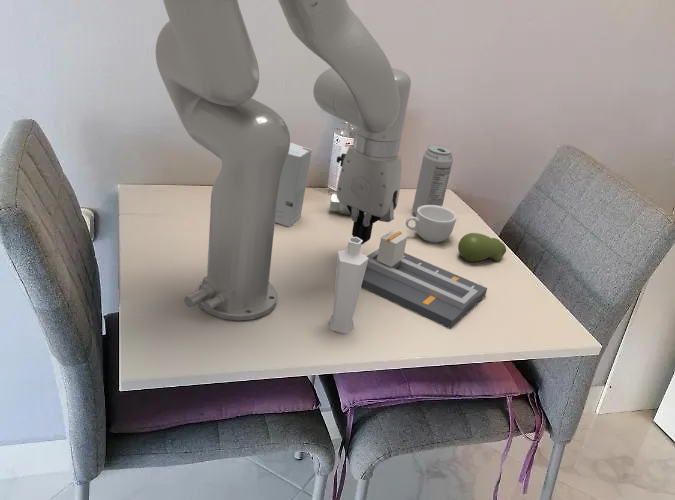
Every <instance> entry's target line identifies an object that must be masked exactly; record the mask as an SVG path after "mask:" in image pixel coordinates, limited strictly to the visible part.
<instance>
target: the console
mask: <svg viewBox="0 0 675 500" xmlns="http://www.w3.org/2000/svg"><path fill="white" fill-rule="evenodd" d="M378 251H379V248H377V249H376V250H374V251H373V252H371V253H369V254H368V255H366V256H367V257H368V258H369V259H368V263H367V266H366V270H365V274H364V278H363V282H362V285H361V288H363V289H365V290H368V291H369V292H371V293H374V294H376V295H378V296H380V297H382V298H384V299H387V300H389V301H391V302H393V303H394V304H397V305H400V306H401V307H404V308H405V309H407V310H409V311H413V312H414V313H416V314H418V315H421V316H423V317H425V318H427V319H430V321H431V320H432V321H433V322H435V323H438V324H440V325H442V326H444V327H447V328H448V329H452V328H453V327H454V326H455V325H456V324H457V323H458V322H459V321H460V320H461V319H462V318H463V317H464V316H465V315H467V313H469V311H471V310H472V309H473V308H474V307H475V306H476V305H477V304H478V303H479V302H480V301H481V300H482V299H484V298H485V297H486V296H487V295H486V294H487V292H488V287H485V286H483V285H481V284H478V283H476V282H474V281H471V280H470V279H467V278H465V277H463V276H459V275H457V274H455V273H453V272H451V271H449V270H446V269H443V268H442V267H439V266H436V265H434V264H432V263H430V262H427V261H425V260H422V259H420V258H418V257H415V256H413V255H411V254H409V253H406V252H404V256H403V259H402V260H401V261H400V263H399V267H397V268H396V269H394V268H392V267H390V266H388V265H385V264H383V263H381V262H379V261H377V256H378Z"/></svg>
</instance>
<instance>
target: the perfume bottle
mask: <svg viewBox="0 0 675 500" xmlns="http://www.w3.org/2000/svg"><path fill="white" fill-rule="evenodd" d="M347 240H348V244H347V248H346V249H342V250H338V251H337V260H336V273H335V282H334V283H335V285H334V286H335V287H334V295H333V308H332V315H331V317H330V319H329V328H330V331H333V332H335V333H336V332H337V333H342V334H345V335H346V334H348V333H349V332H350V331H352V330H353V329H354V326H355V325H354V315H355V312H356V308H357V304H358V300H359V296H360V292H361V289H362V287H361V285H362V282H363V278H364V274H365V270H366V266H367V263H368V259H369V258H368V257H367V256H368V255H365V254H364V253H362V252H361V248H362V245H361V243H362V242H363V240H361V239H360V238H358V237H353V236H349V237H348V238H347Z"/></svg>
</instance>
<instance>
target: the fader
mask: <svg viewBox="0 0 675 500" xmlns="http://www.w3.org/2000/svg"><path fill="white" fill-rule="evenodd" d="M402 233H403V232H402V231H401V230H400V231H395V230H391V231H389V232H388V233H386V234H384V235H383V236H381V237H380V242H379V247H378V249H379V251H378V256H377V261H379V262H381V263H383V264H385V265H388V266H390V267H392V268H394V269H396V268H397V267H399V263H400V261H401V260H402V259H403V256H404V253H405V250H406V245H407V241H408V240H407V239H408V236H407V235H404V234H402Z"/></svg>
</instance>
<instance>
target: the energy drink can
mask: <svg viewBox="0 0 675 500" xmlns="http://www.w3.org/2000/svg"><path fill="white" fill-rule="evenodd" d="M452 152H453V151H452V149H451V148H449V147H448V146H445V145H441V144H430V145H428V147H427V149H426V151H424V153H423V156H422V159H421V160H422V161H421V166H420V171H419V174H418V180H417V185H416V190H415V195H414V200H413V204H412V212H413V215H414V217H416V214H417V209H418V208H419V207H420V206H423V205H437V206H442V207H444V205H443V204H444V200H445V196H446V192H447V188H448V183H449V178H450V174H451V170H452V166H453V161H454V158H453V155H452Z"/></svg>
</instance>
